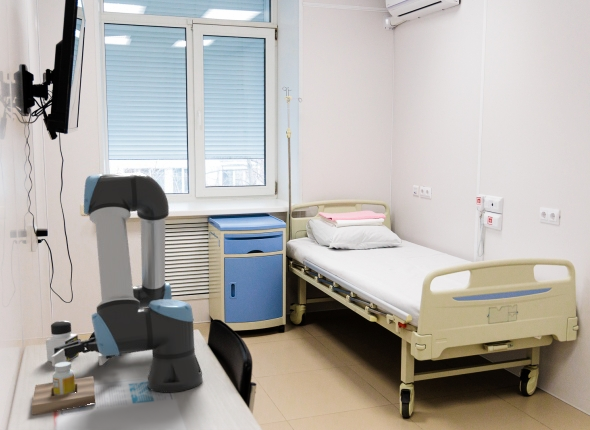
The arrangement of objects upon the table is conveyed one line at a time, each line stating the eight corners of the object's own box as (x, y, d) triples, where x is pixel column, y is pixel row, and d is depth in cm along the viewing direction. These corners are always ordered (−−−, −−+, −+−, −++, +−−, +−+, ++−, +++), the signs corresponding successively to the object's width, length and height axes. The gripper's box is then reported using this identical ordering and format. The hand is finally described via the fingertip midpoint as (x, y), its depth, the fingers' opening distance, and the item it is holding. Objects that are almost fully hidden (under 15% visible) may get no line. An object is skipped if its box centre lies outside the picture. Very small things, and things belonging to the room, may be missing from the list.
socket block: (95, 404, 154) (94, 395, 154) (32, 415, 149) (31, 405, 149) (93, 384, 168) (93, 376, 168) (36, 393, 163) (35, 385, 163)
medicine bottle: (67, 362, 189) (64, 325, 188) (46, 361, 190) (44, 325, 189) (79, 355, 196) (76, 319, 195) (60, 354, 197) (57, 319, 196)
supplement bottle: (51, 403, 156) (48, 368, 155) (57, 395, 161) (55, 361, 160) (72, 402, 156) (70, 366, 155) (78, 394, 162) (75, 360, 161)
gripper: (144, 348, 187) (121, 373, 166) (67, 350, 189) (34, 374, 168) (143, 325, 186) (119, 346, 165) (66, 327, 188) (32, 348, 167)
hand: (76, 360), depth 166 cm, fingers open, 13 cm apart
